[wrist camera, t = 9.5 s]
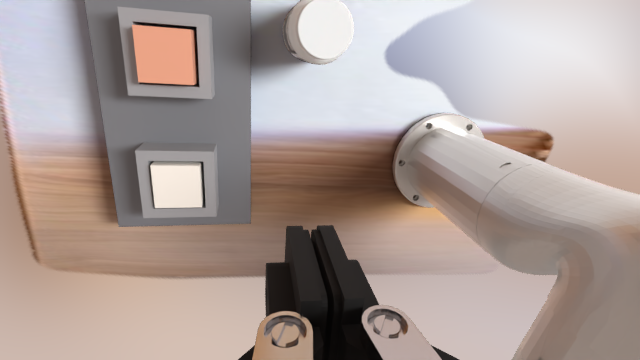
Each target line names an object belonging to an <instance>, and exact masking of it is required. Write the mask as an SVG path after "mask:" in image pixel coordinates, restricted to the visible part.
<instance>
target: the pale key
mask: <svg viewBox="0 0 640 360" xmlns="http://www.w3.org/2000/svg"><path fill="white" fill-rule="evenodd" d="M150 167H151V176H152V186H153V195H154V204H155V208H192V207H202V206H203V202H204V199H205V183H204V163H203V161H154V162H153V163H152V164H151V165H150Z"/></svg>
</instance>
